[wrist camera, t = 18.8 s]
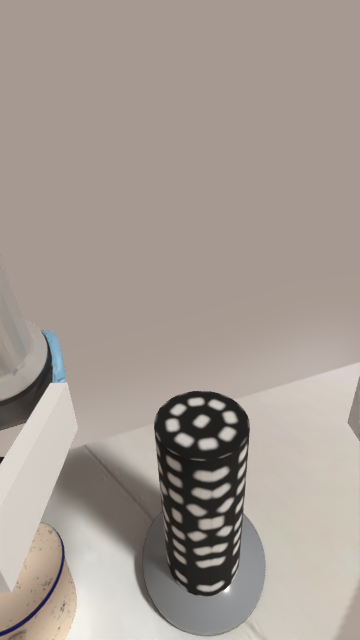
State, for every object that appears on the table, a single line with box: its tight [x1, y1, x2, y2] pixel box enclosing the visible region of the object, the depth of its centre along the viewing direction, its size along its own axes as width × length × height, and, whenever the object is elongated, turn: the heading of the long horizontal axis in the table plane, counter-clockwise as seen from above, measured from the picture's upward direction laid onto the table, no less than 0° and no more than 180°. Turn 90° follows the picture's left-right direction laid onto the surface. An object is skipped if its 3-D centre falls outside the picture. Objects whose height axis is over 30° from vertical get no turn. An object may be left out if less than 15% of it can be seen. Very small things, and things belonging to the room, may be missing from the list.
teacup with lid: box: [0, 522, 77, 640], centre depth 29 cm, size 12×9×12 cm
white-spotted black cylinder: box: [154, 391, 250, 597], centre depth 32 cm, size 8×8×20 cm
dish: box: [143, 512, 265, 636], centre depth 37 cm, size 14×14×2 cm
